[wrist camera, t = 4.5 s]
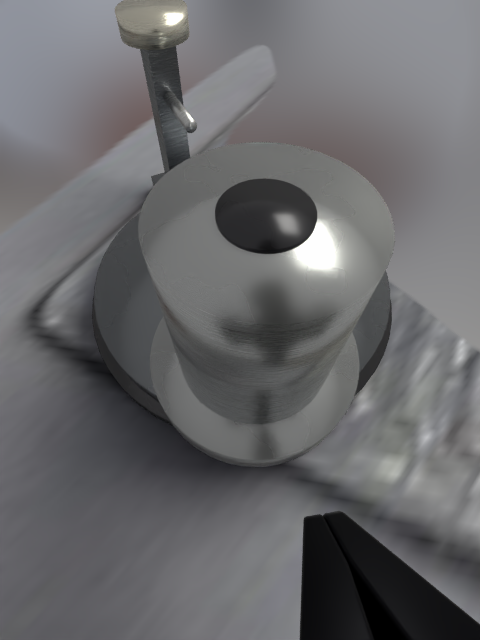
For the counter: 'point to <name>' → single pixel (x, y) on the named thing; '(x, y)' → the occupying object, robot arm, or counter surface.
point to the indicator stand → (161, 69)
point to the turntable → (145, 315)
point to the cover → (260, 295)
